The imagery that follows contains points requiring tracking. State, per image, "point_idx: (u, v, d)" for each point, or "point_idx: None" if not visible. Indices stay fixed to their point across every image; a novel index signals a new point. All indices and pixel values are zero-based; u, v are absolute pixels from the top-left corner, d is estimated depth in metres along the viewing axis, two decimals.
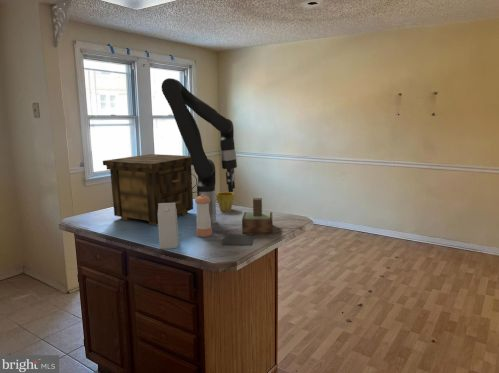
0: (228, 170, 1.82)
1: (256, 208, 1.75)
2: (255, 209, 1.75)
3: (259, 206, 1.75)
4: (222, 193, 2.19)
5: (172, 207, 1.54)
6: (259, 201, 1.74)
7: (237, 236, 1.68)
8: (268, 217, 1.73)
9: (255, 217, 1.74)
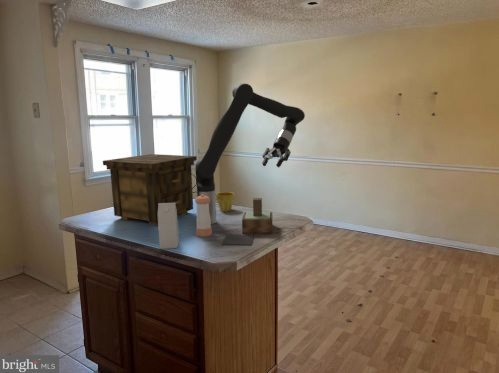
0: (285, 149, 1.84)
1: (256, 208, 1.75)
2: (255, 209, 1.75)
3: (259, 206, 1.75)
4: (222, 193, 2.19)
5: (172, 207, 1.54)
6: (259, 201, 1.74)
7: (237, 236, 1.68)
8: (268, 217, 1.73)
9: (255, 217, 1.74)
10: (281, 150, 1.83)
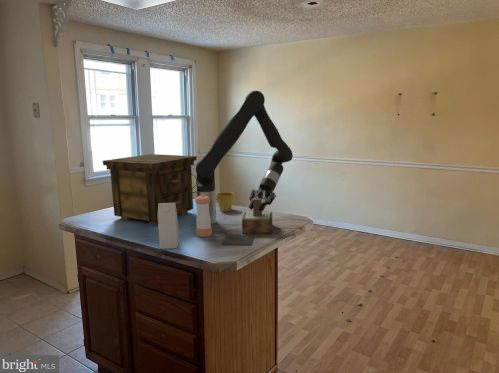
0: (271, 190, 1.78)
1: (256, 208, 1.75)
2: (255, 209, 1.75)
3: (259, 206, 1.75)
4: (222, 193, 2.19)
5: (172, 207, 1.54)
6: (259, 201, 1.74)
7: (237, 236, 1.68)
8: (268, 217, 1.73)
9: (255, 217, 1.74)
10: (267, 193, 1.77)
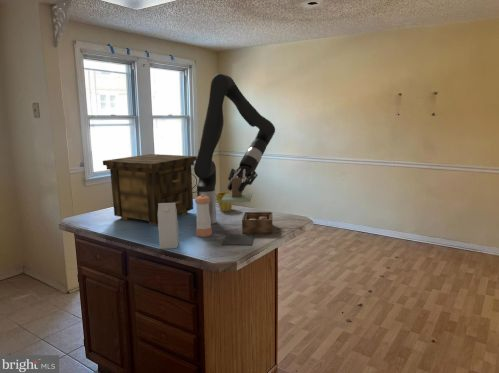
0: (252, 169, 1.61)
1: (235, 188, 1.58)
2: (234, 189, 1.58)
3: (239, 186, 1.57)
4: (222, 193, 2.19)
5: (172, 207, 1.54)
6: (238, 180, 1.57)
7: (237, 236, 1.68)
8: (248, 198, 1.56)
9: (234, 198, 1.56)
10: (247, 172, 1.60)
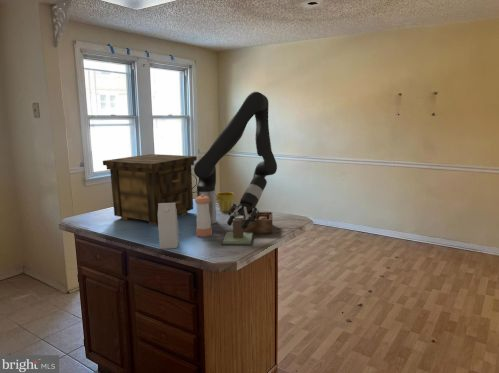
0: (252, 207, 1.64)
1: (236, 229, 1.61)
2: (235, 230, 1.61)
3: (239, 227, 1.61)
4: (222, 193, 2.19)
5: (172, 207, 1.54)
6: (239, 222, 1.61)
7: None
8: (249, 240, 1.59)
9: (235, 239, 1.60)
10: (248, 209, 1.63)
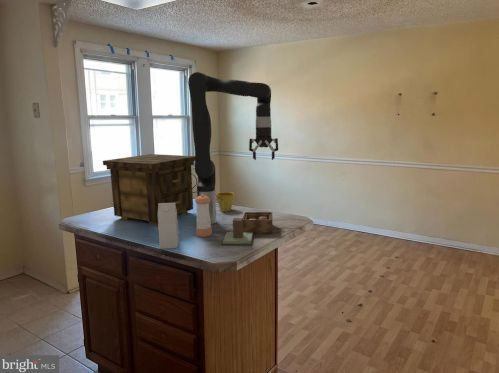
0: None
1: (236, 229, 1.61)
2: (235, 230, 1.61)
3: (239, 227, 1.61)
4: (222, 193, 2.19)
5: (172, 207, 1.54)
6: (239, 222, 1.61)
7: None
8: (249, 240, 1.59)
9: (235, 239, 1.60)
10: (269, 141, 1.77)
